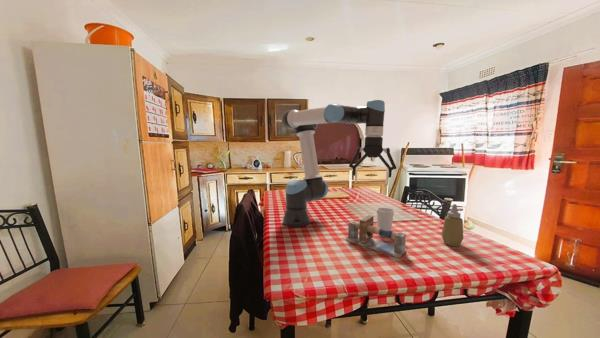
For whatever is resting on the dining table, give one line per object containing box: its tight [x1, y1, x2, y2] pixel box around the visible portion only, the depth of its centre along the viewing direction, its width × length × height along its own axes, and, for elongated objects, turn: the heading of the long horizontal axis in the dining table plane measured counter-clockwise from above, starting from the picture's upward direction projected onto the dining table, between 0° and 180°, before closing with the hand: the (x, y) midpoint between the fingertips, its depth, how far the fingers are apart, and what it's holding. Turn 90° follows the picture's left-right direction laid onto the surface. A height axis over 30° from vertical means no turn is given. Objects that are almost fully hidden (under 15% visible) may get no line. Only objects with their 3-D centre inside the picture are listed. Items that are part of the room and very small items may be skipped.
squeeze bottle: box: [441, 203, 464, 247], centre depth 98 cm, size 8×8×18 cm
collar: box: [358, 214, 375, 243], centre depth 100 cm, size 2×8×10 cm, turn 138°
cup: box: [376, 206, 395, 231], centre depth 111 cm, size 8×8×12 cm
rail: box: [345, 220, 407, 259], centre depth 98 cm, size 24×8×8 cm, turn 48°
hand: (371, 183), depth 102 cm, fingers open, 13 cm apart
